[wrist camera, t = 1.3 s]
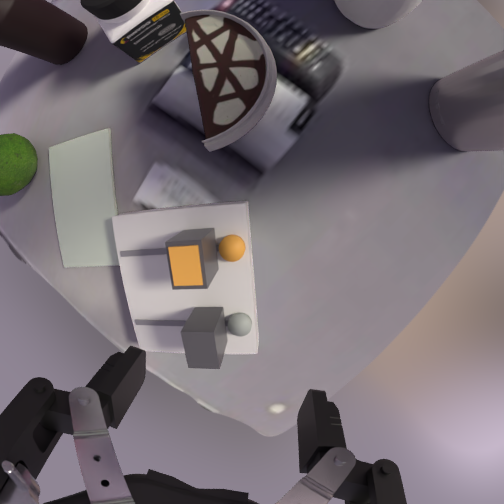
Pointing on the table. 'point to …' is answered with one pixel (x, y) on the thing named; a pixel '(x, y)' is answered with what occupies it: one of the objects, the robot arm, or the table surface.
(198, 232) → the toggle
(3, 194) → the avocado
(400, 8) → the mug
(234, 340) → the panel
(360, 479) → the robot arm
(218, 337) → the toggle
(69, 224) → the pad
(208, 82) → the food container
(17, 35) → the vinegar
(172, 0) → the medicine bottle
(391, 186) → the table surface
